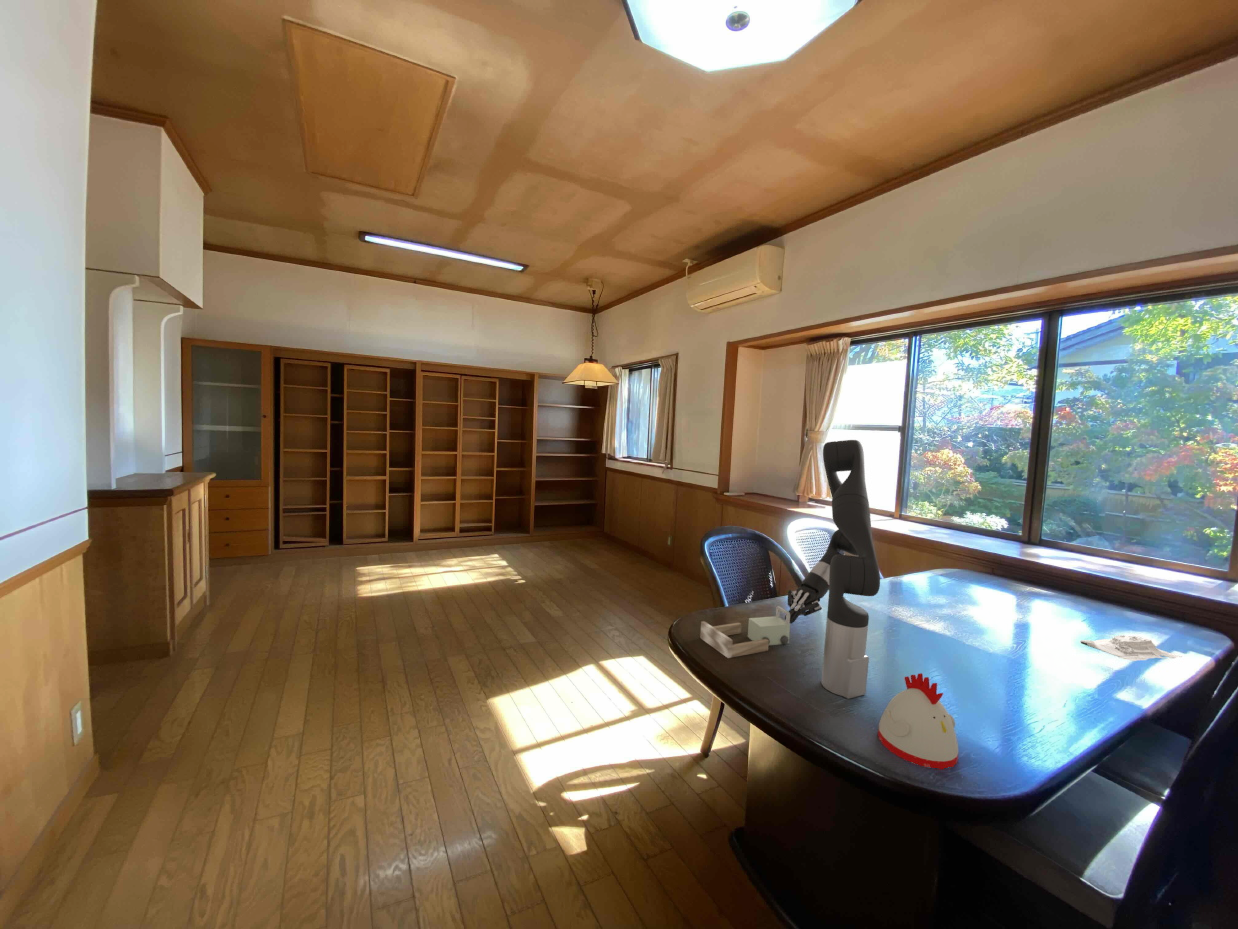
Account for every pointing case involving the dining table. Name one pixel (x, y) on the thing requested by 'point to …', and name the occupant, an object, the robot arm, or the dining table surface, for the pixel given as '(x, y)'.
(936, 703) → the kitchen timer
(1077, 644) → the dining table surface
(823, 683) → the robot arm
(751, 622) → the sage trolley
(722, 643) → the birch bay
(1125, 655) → the terrain model
